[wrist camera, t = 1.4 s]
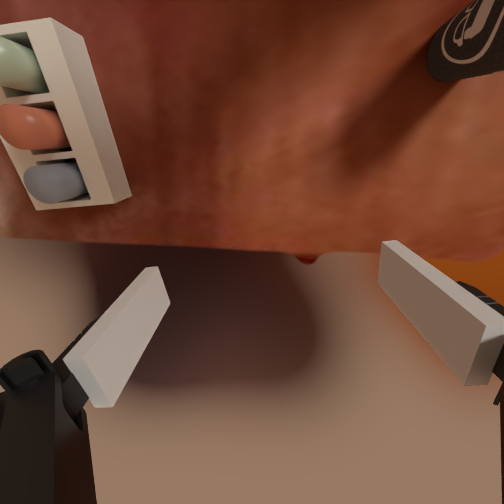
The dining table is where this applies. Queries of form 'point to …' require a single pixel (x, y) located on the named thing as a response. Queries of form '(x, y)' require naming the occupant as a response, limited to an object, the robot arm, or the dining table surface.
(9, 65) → the button sage
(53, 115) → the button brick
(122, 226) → the dining table surface
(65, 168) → the button slate
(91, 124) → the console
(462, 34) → the coffee cup
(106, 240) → the dining table surface
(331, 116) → the dining table surface
